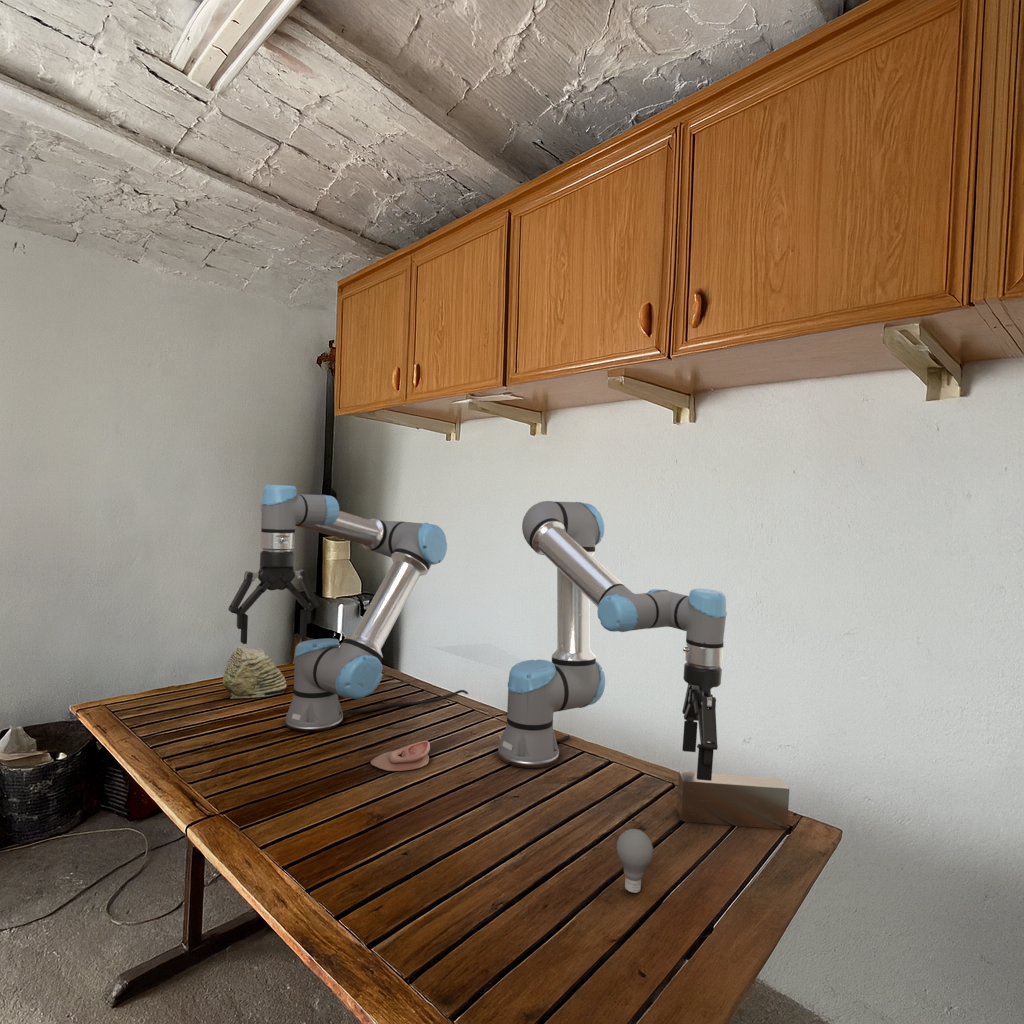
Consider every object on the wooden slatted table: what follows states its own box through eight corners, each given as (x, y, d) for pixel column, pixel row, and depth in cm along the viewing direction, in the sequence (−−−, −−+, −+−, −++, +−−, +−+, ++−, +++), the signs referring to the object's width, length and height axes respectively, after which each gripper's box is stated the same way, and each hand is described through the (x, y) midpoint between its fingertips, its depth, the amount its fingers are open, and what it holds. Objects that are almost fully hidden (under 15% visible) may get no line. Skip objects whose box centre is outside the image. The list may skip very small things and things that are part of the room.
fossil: (218, 695, 195) (220, 647, 195) (278, 685, 208) (279, 640, 207) (228, 703, 189) (230, 653, 188) (289, 692, 201) (290, 645, 201)
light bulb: (610, 879, 108) (613, 822, 108) (644, 879, 109) (647, 822, 109) (619, 902, 102) (622, 840, 102) (655, 901, 103) (658, 840, 103)
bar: (779, 817, 133) (781, 778, 133) (787, 829, 128) (789, 788, 128) (676, 809, 135) (678, 770, 135) (681, 821, 130) (683, 780, 130)
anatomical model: (365, 751, 148) (384, 733, 160) (364, 767, 148) (384, 749, 160) (419, 758, 146) (435, 740, 157) (418, 775, 146) (434, 756, 157)
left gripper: (224, 552, 139) (220, 648, 139) (334, 551, 154) (331, 638, 154) (216, 549, 145) (213, 641, 145) (323, 548, 160) (320, 632, 160)
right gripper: (673, 647, 144) (666, 739, 145) (698, 681, 119) (691, 791, 120) (706, 650, 144) (700, 742, 145) (739, 684, 119) (731, 794, 120)
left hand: (274, 640), depth 150 cm, fingers open, 13 cm apart
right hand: (696, 764), depth 133 cm, fingers open, 13 cm apart
